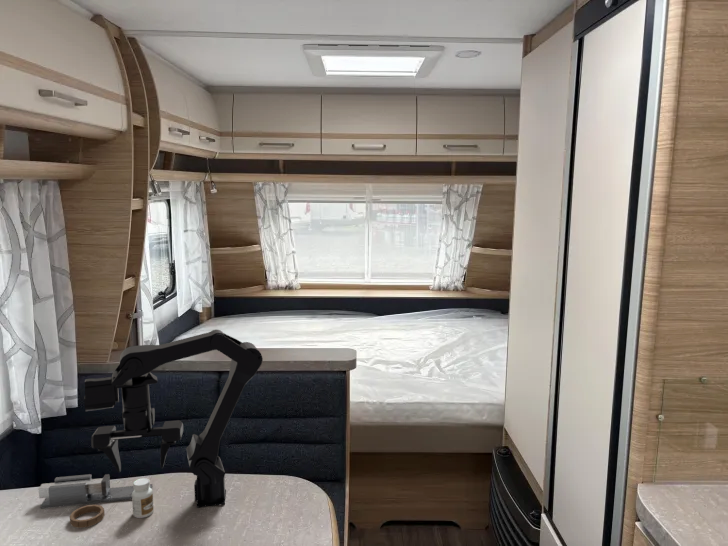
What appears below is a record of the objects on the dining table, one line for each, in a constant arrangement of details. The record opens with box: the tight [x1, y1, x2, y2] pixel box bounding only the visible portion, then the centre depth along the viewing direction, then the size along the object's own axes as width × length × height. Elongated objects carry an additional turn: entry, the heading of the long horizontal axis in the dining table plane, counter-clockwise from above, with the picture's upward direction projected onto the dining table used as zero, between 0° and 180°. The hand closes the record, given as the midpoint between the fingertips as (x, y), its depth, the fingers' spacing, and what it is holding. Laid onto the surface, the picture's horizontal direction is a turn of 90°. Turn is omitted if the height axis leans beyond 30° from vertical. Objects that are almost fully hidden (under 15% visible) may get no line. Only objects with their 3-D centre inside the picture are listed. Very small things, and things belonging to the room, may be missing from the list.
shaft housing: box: [40, 473, 154, 509], centre depth 139 cm, size 24×5×5 cm, turn 101°
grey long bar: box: [38, 473, 111, 499], centre depth 138 cm, size 15×4×4 cm, turn 101°
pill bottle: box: [131, 477, 154, 519], centre depth 132 cm, size 4×4×8 cm
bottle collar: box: [69, 504, 106, 529], centre depth 130 cm, size 7×7×2 cm
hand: (141, 469), depth 131 cm, fingers open, 9 cm apart
